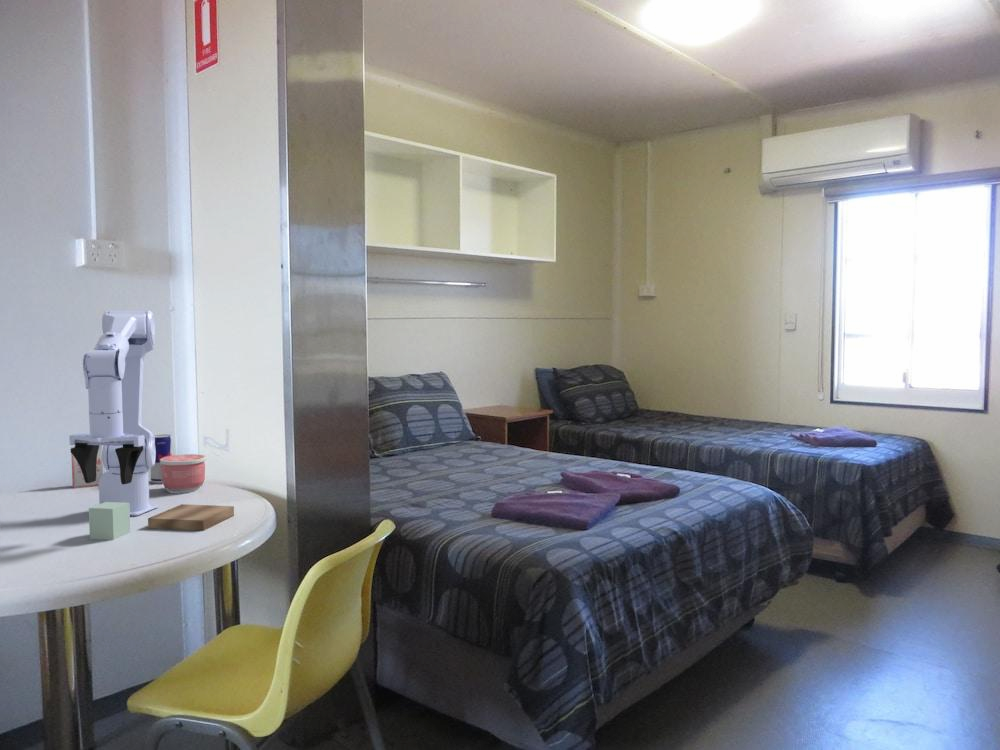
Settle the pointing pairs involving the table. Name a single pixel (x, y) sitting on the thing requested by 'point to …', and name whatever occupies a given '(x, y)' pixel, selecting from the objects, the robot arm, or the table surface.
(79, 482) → the printed cream box
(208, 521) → the walnut base
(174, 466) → the container
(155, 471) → the energy drink
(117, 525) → the sage block
